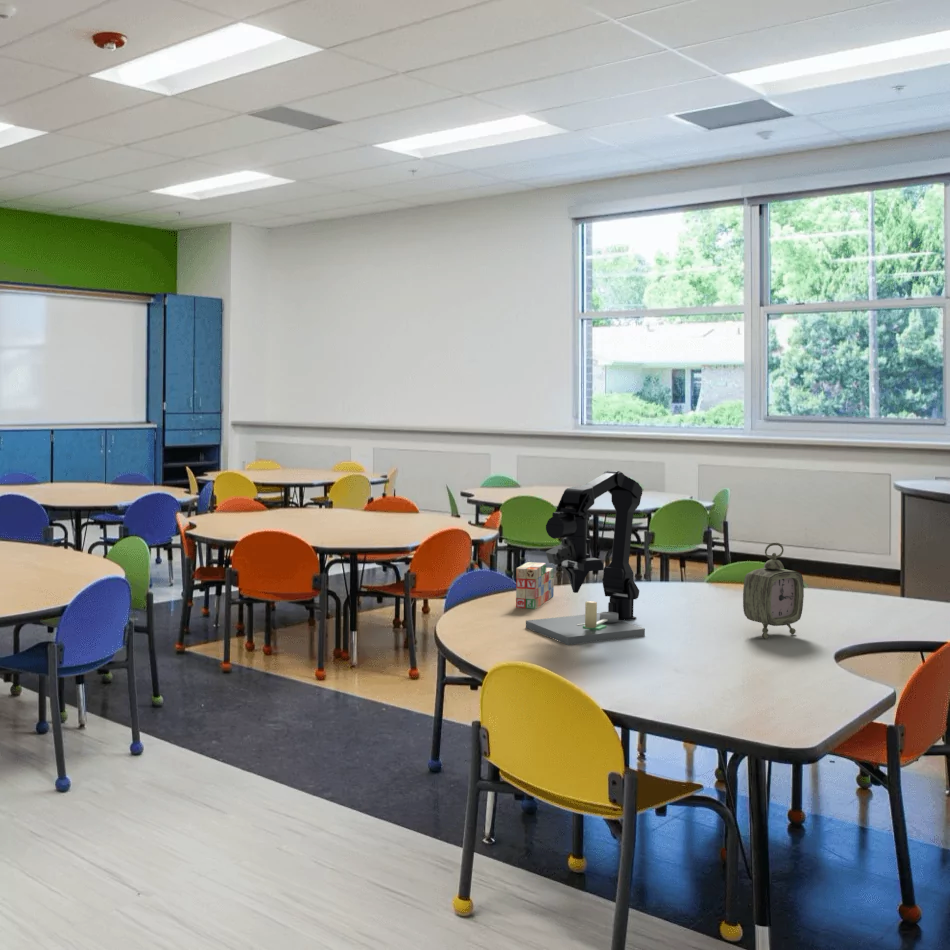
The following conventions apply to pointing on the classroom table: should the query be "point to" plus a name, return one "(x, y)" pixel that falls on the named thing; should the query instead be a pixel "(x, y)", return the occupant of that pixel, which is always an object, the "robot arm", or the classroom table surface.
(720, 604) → the classroom table surface
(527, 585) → the stack of blocks
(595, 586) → the classroom table surface
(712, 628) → the classroom table surface
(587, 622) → the beige and grey mallet
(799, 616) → the tabletop clock
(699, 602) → the classroom table surface
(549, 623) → the gauge plate
